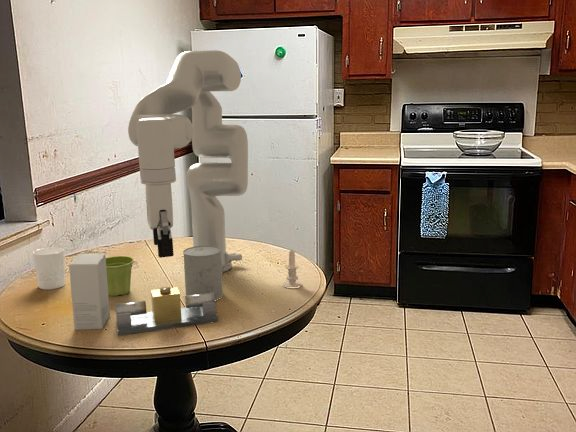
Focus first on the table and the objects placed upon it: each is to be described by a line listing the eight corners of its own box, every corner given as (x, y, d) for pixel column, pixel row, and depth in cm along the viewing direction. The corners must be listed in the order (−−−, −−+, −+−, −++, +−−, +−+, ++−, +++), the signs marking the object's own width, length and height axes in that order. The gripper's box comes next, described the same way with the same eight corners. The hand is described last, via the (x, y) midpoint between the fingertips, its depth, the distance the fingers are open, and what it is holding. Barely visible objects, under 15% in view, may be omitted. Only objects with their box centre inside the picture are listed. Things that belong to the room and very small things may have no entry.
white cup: (56, 291, 151) (52, 255, 149) (30, 289, 152) (26, 254, 150) (73, 281, 158) (69, 247, 156) (48, 280, 160) (44, 246, 158)
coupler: (154, 322, 127) (152, 293, 126) (152, 314, 131) (150, 287, 130) (181, 318, 129) (179, 290, 128) (178, 311, 133) (177, 284, 132)
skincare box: (83, 316, 134) (77, 253, 130) (112, 315, 134) (106, 252, 131) (73, 331, 125) (66, 263, 122) (103, 329, 126) (98, 262, 123)
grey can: (229, 292, 148) (227, 247, 146) (212, 305, 140) (210, 257, 137) (196, 288, 152) (194, 244, 149) (178, 301, 143) (175, 254, 140)
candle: (282, 289, 151) (281, 251, 148) (283, 282, 156) (282, 246, 153) (301, 289, 150) (301, 251, 148) (302, 282, 155) (301, 246, 153)
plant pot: (123, 300, 144) (121, 267, 142) (91, 296, 146) (88, 264, 145) (143, 288, 152) (140, 257, 151) (112, 285, 155) (110, 254, 153)
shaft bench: (210, 308, 138) (209, 286, 137) (217, 321, 129) (217, 299, 128) (116, 320, 131) (114, 297, 130) (118, 335, 123) (116, 311, 121)
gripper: (137, 170, 130) (143, 241, 134) (143, 183, 114) (149, 263, 118) (170, 168, 132) (175, 238, 136) (181, 180, 116) (186, 259, 120)
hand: (163, 250), depth 127 cm, fingers open, 9 cm apart
